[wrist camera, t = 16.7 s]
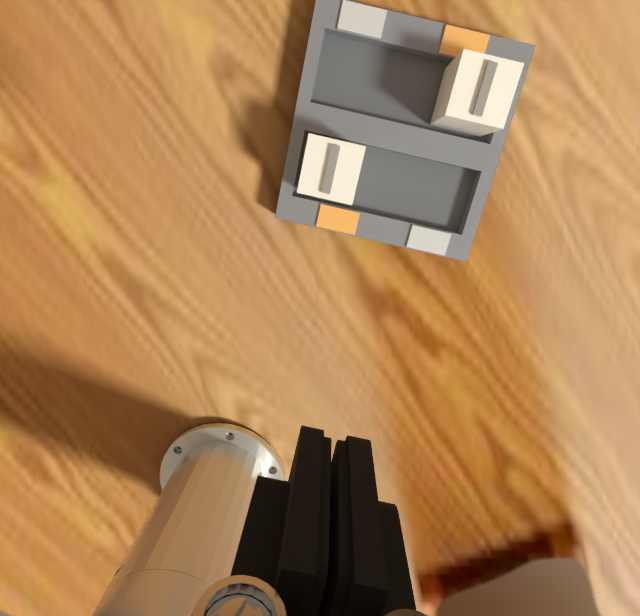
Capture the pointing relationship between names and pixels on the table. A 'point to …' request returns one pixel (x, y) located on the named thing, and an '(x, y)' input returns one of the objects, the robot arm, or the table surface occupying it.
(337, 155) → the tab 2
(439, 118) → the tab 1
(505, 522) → the table surface
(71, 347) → the table surface
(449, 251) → the switch bank
